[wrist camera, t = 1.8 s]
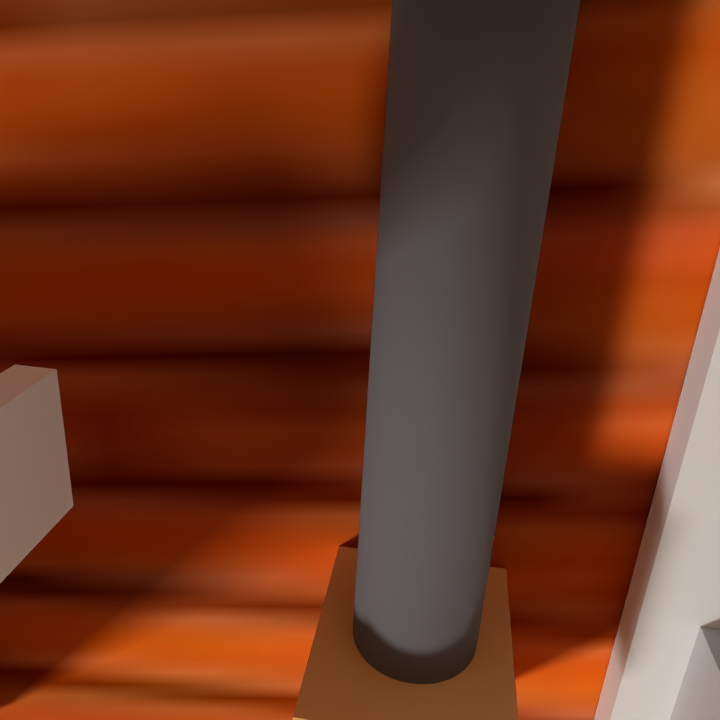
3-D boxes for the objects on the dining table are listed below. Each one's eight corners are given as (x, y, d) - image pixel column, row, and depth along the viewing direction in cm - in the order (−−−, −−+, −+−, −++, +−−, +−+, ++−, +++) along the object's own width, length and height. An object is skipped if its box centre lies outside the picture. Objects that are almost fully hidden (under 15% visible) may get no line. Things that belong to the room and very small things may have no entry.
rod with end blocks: (380, -287, 13) (316, -559, 7) (654, -288, 12) (806, -582, 7) (333, 667, 22) (290, 858, 17) (484, 691, 22) (490, 896, 16)
